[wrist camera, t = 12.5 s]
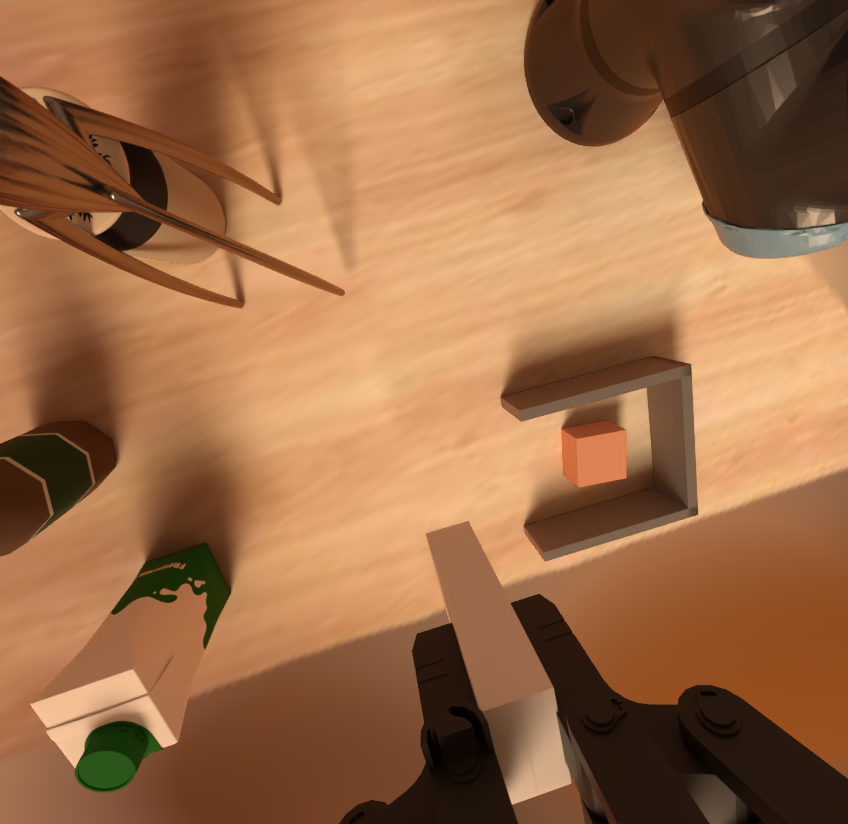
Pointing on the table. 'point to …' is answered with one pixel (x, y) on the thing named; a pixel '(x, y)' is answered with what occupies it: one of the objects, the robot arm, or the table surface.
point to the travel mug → (157, 186)
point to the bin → (669, 454)
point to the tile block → (594, 453)
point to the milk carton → (136, 671)
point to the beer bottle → (48, 477)
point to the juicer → (104, 184)
